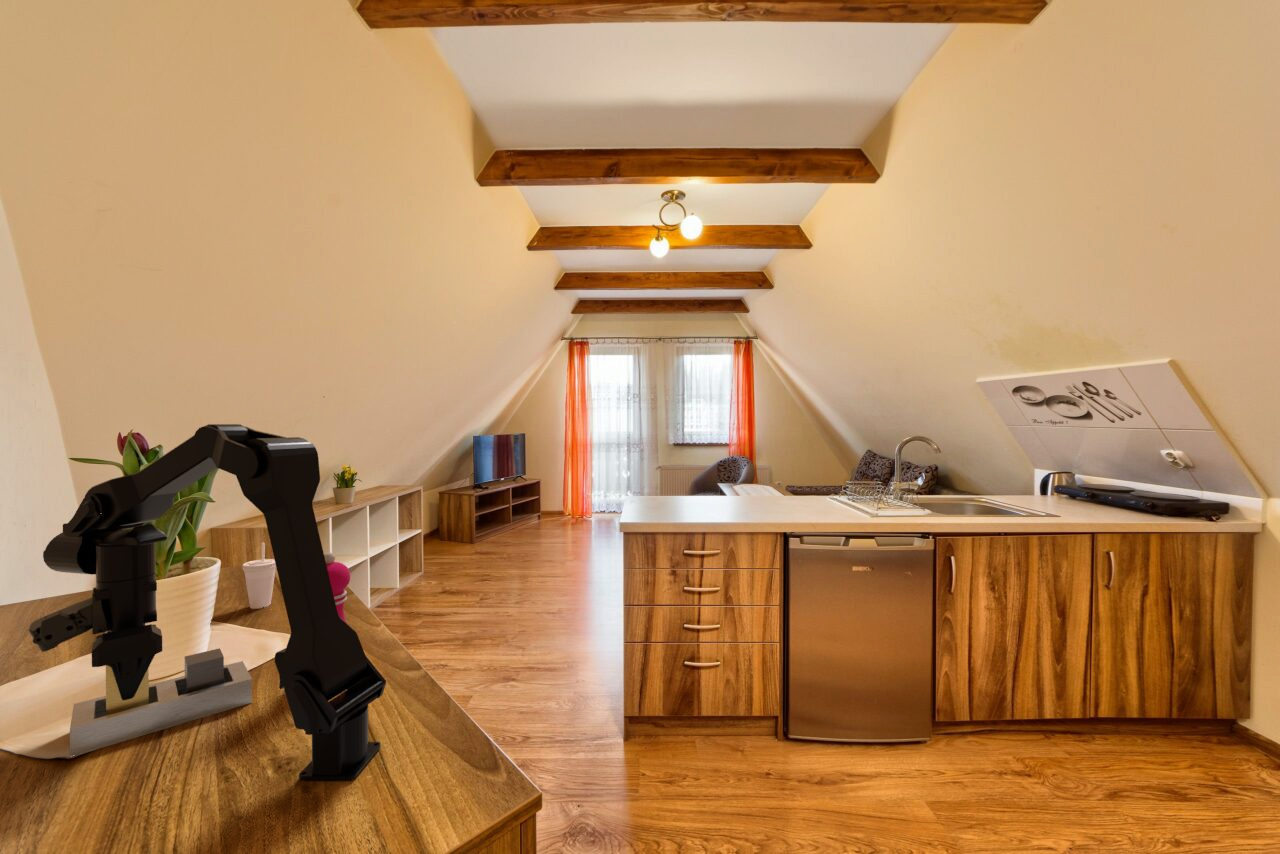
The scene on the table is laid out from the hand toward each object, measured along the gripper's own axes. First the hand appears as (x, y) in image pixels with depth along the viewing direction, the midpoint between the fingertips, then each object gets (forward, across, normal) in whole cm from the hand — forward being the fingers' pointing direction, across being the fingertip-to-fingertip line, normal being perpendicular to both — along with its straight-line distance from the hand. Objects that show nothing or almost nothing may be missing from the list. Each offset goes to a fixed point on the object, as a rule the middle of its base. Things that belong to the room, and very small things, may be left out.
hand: (127, 692), depth 71 cm
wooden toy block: (+2, 0, 0) cm, 2 cm away
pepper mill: (+5, +4, +23) cm, 24 cm away
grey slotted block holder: (+5, 0, +4) cm, 6 cm away
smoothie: (+5, -45, +22) cm, 50 cm away
